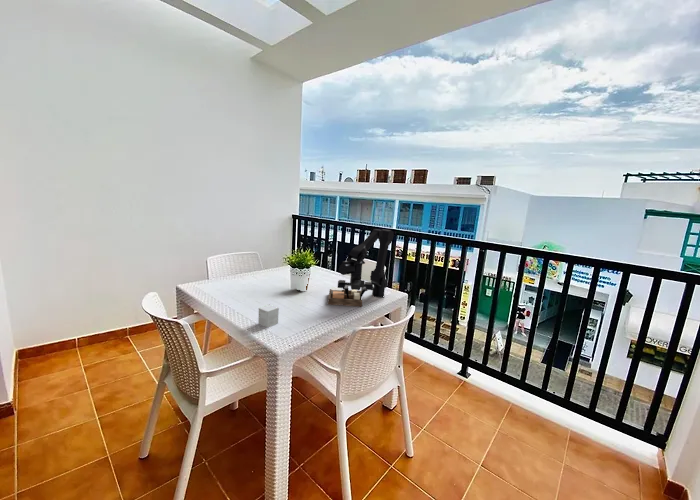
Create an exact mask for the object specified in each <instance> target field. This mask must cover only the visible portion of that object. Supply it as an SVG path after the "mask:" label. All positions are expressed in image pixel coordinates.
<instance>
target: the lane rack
mask: <svg viewBox="0 0 700 500" xmlns="http://www.w3.org/2000/svg"><path fill="white" fill-rule="evenodd" d="M351 290H352V289H348V292H349V299H348V298H347V294H346V291H345V290H344V289H342V292H344V299H339V298H333V293H331V288H330V289H329V293H328V297H327V305H330V306H350V307H363V299H361V300H355V299H354V295H351ZM360 292H361V290H357V293H360Z"/></svg>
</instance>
